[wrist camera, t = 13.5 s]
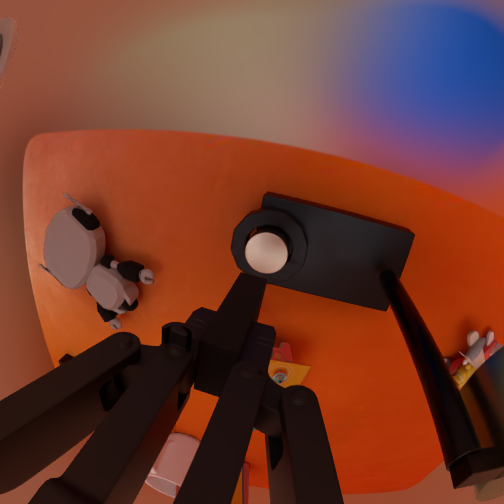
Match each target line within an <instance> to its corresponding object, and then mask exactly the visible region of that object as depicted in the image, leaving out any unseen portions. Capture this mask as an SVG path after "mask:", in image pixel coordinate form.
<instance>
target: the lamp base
mask: <svg viewBox="0 0 504 504" xmlns="http://www.w3.org/2000/svg"><path fill="white" fill-rule="evenodd" d="M256 227H257V231H258V230H259V229H262V228H266V227H271V228H275V229H278V230H280V231H281V232H282V233H283V234H284V235H285V236H286V237H287V239H288V242H289V254H288V258H287V261H286V263H285V265H284V266H283V267H282V268H281V269H280V270H278V271H276V272H274V273H261V272H258V271H256V270H255V269H253V268H252V267H251V266H250V265H249V263H248V262H247V259H246V256H245V248H246V245H247V243H248V241H249V239H250V234H251V232H252V231H253V230H254V229H255V228H256ZM414 237H415V234H414V233H413V232H411V231H410V230H409V229H408V228H405V227H401V226H398V225H395V224H391V223H388V222H385V221H381V220H378V219H374V218H371V217H367V216H364V215H360V214H357V213H353V212H349V211H345V210H342V209H338V208H334V207H330V206H326V205H323V204H319V203H315V202H311V201H307V200H302V199H298V198H294V197H290V196H286V195H281V194H277V193H273V192H266V193H265V194H264V196H263V201H262V206H261V208H260V209H257V210H254V211H251V212H250V213H249V214H248V215H247V216H246V217H245V218H244V219H243V220H242V221H241V222H240V223H239V225H238V226H237V227H236V228H235V229H234V232H233V238H232V243H231V251H232V254H233V256H234V259H235V262H236V265H237V266H238V268H240V269H241V270H242V271H243V272H244V273H246V274H250V275H254V276H257V277H261V278H265V279H267V283H268V284H273V285H277V286H281V287H285V288H289V289H293V290H297V291H301V292H305V293H309V294H313V295H317V296H321V297H325V298H330V299H334V300H338V301H342V302H347V303H351V304H355V305H359V306H364V307H368V308H373V309H377V310H381V311H387V309H388V306H389V302H388V300H387V297H386V295H385V293H384V291H383V289H382V287H381V284H380V282H379V276H380V274H381V273H382V272H383V271H384V270H387V269H390V270H393V271H394V272H395V274H396V275H397V277H398V278H399V279H400V277H401V274H402V271H403V269H404V266H405V263H406V260H407V258H408V255H409V252H410V249H411V246H412V243H413V240H414Z"/></svg>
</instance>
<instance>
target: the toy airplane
mask: <svg viewBox="0 0 504 504" xmlns="http://www.w3.org/2000/svg"><path fill="white" fill-rule="evenodd" d="M467 343H468V347H469V349H468V351H467V352H466V354H465V355H463V354H462V353H461V352H460V351H458V352H459V353H460V354H462V355H463V357H461V358H460V359H458V360H456V361H454V362H453V363H452V364H450V360H449V359H448V358H444V360H445V362H446V364H447V366H448V368H449V370H450V372H451V375H452V377H453V379H454V381H455V383H456V385H457V388H459V389H460V388H461V387H462V386H463V385H464V384H465V383H466V382H467V380H468V379H469V378H470V377H471V375H472V374H473V373H474V372H475V371H476V370H477V369H478V368H479V367H480V365H481V364H483V363H484V362H485V361H486V360H487V359H488V358H489V357H490V356H491V355H492V354H494V353H495V352H496V351H497V350H499V349H500V348H501V347H503V345H501V344H499V343H497V341H495V340H494V333H493V332H492V331H489V332H488V333H487V336H486V340H485V338H484V337H482V338H480V337H479V334H478V332H477V331H475V330H472V331H470V332H469V333H468V335H467Z"/></svg>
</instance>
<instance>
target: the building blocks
mask: <svg viewBox="0 0 504 504" xmlns="http://www.w3.org/2000/svg"><path fill="white" fill-rule="evenodd" d="M310 367H311V366H307V365H305V364H298V363H294V361H293V357H292V353H291V349H290V344H289V343H285V342H281V343H280V345H279V348H276V347H273V351H272V355H271V359H270V363H269V367H268V373H269V376H270V377H271V379H272V380H273V381H274V382H275V383H277V384H278V385H280V386H282V387H284V388H286V387H288V386H290V385H300V384H301V382H302V381H303V379H304V378H305V376H306V374H307V373H308V371H309V369H310ZM253 430H257V429H255V428H253ZM248 486H249V464H248V463H243V466H242V469H241V473H240V476H239V479H238V483H237V486H236V489H235V492H234V496H233V499H232V502H231V504H248ZM179 489H180V486H178V485H176V493H175V498H176V496H177V494H178V491H179Z"/></svg>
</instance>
